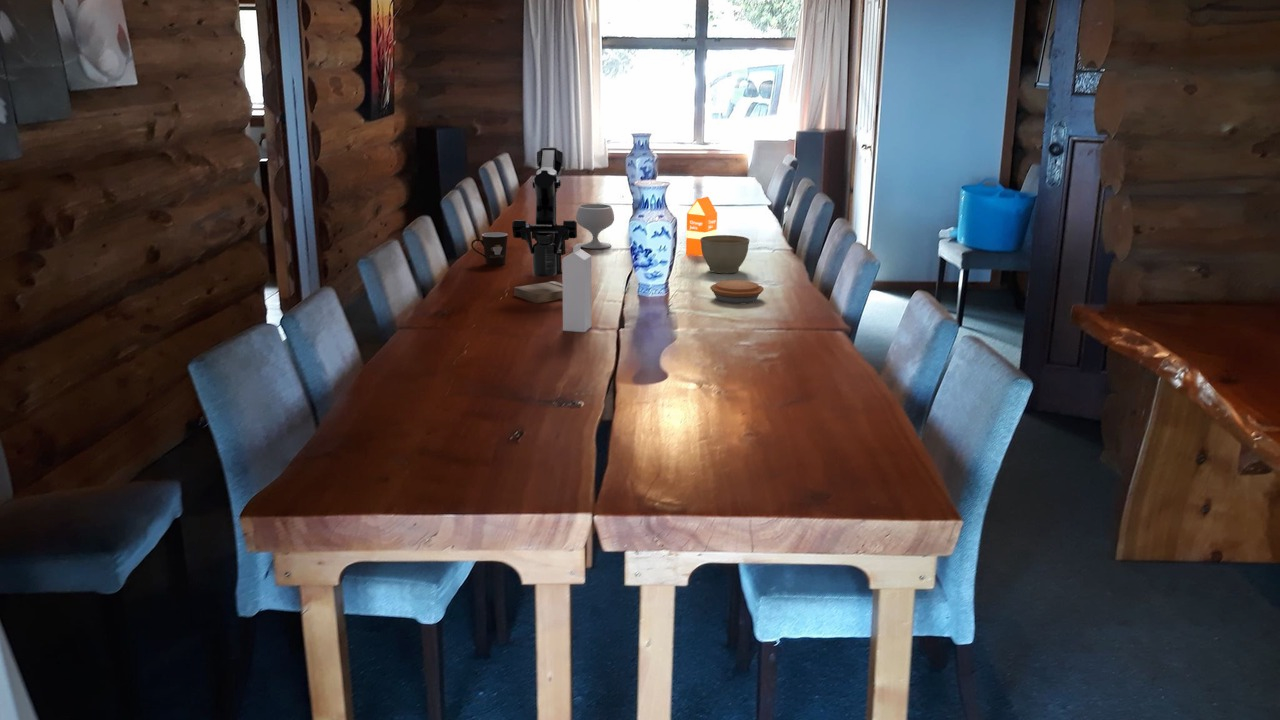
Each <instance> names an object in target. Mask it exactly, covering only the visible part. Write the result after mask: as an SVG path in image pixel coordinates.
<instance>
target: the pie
mask: <svg viewBox="0 0 1280 720" xmlns="http://www.w3.org/2000/svg"><path fill="white" fill-rule="evenodd" d="M709 289H710V290H711V291H712V292H713V295H714V296H715V298H716V300H718V302H721V303H726V304H733V305H734V304H735V305H742V304H741V303H746V304H751V303H754V302H755V301H756V300H757V299H758V298H759V295H760V294H762V293H763V291H764V289H765V288H764V287H763V286H761V285H759V284H758V283H756V282H753V281H748V280H740V279H735V280H734V279H730V280H728V279H727V280H721V281H717V282H715V283H714V284H712V285H711V286H710V287H709ZM753 301H754V302H753ZM750 302H751V303H750Z"/></svg>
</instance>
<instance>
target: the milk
mask: <svg viewBox="0 0 1280 720" xmlns="http://www.w3.org/2000/svg"><path fill="white" fill-rule="evenodd" d="M580 244H581V243H580V242H579V243H576V245H574V246H572V253H569V254H568V255H566V256H564V257H562V258H561V271H562V273H561V274H562V275H561V276H562V277H561V278H562V284H563V299H562V331H564V332H576V333H586V332H587V331H588V330H589V329H591V327H592V255H591V254H589V253H587V251H585V250H583V249H581V248H582V247H580Z"/></svg>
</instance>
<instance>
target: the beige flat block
mask: <svg viewBox="0 0 1280 720" xmlns="http://www.w3.org/2000/svg"><path fill="white" fill-rule="evenodd" d="M513 296H514V297H517V298H520V299H523V300H527V301H529V302H532V303H535V304H541V303H546V302H547V303H548V302H551V301H553V302H554V301H559V300H558V299H560V300H563V284H562V283H561V282H559V281H555V280H553V281H547V282H541V283H534V284H527V285H519V286H514V287H513Z"/></svg>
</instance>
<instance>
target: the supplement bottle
mask: <svg viewBox="0 0 1280 720" xmlns="http://www.w3.org/2000/svg"><path fill="white" fill-rule="evenodd" d="M552 240H553V239H552V234H551V233H538V234H536V240H535V243H534V244H532V247H533V254H532V273H533V275H534V276H536V277H542V278H547V277H554V276H556V275H557V274H556V246H555V244H554V243H552Z"/></svg>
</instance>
